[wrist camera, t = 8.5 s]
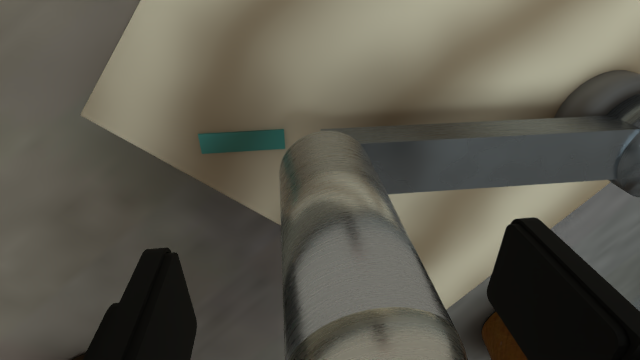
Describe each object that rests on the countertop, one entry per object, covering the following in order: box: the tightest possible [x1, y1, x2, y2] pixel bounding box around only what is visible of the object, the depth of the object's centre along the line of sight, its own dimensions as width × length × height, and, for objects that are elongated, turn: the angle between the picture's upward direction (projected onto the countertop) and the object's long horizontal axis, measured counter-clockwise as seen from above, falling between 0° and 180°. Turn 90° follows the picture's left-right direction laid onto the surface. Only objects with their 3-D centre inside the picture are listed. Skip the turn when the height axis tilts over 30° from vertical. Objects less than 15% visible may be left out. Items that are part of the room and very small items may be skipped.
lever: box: [279, 94, 640, 360], centre depth 11 cm, size 19×4×12 cm, turn 90°
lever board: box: [81, 0, 640, 309], centre depth 17 cm, size 25×22×3 cm
